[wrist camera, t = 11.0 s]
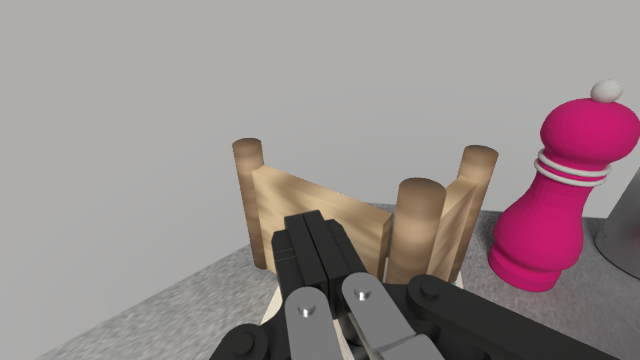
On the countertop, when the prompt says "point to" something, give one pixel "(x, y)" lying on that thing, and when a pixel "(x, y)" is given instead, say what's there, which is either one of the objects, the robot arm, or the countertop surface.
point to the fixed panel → (438, 220)
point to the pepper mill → (562, 188)
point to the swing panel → (303, 209)
